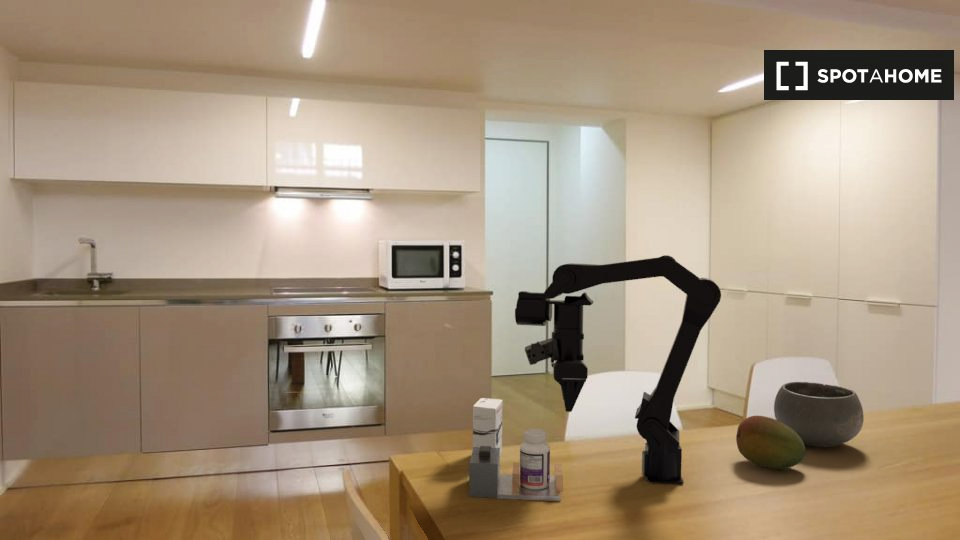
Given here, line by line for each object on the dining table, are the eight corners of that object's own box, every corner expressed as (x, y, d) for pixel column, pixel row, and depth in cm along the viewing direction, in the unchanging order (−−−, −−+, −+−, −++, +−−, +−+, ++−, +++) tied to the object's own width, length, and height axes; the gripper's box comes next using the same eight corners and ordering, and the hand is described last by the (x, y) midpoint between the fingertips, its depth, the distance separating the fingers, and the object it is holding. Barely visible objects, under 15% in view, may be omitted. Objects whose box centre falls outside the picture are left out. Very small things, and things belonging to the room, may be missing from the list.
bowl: (864, 440, 150) (866, 386, 150) (860, 462, 135) (862, 401, 135) (779, 428, 160) (780, 376, 159) (767, 447, 145) (768, 390, 144)
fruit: (731, 454, 140) (732, 408, 139) (795, 459, 137) (796, 411, 137) (741, 473, 128) (743, 423, 128) (811, 478, 126) (812, 427, 125)
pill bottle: (533, 477, 123) (534, 425, 123) (555, 485, 119) (556, 432, 119) (513, 484, 120) (514, 431, 119) (535, 492, 116) (536, 438, 115)
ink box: (495, 466, 131) (496, 408, 131) (471, 464, 132) (471, 406, 132) (502, 453, 140) (503, 398, 139) (479, 451, 141) (480, 397, 140)
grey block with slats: (560, 480, 124) (560, 442, 124) (563, 501, 114) (563, 460, 114) (473, 477, 125) (473, 440, 125) (468, 497, 115) (469, 457, 115)
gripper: (527, 320, 139) (526, 393, 140) (527, 333, 121) (526, 417, 122) (580, 321, 139) (579, 395, 139) (588, 334, 120) (587, 418, 121)
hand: (567, 405), depth 130 cm, fingers open, 9 cm apart
